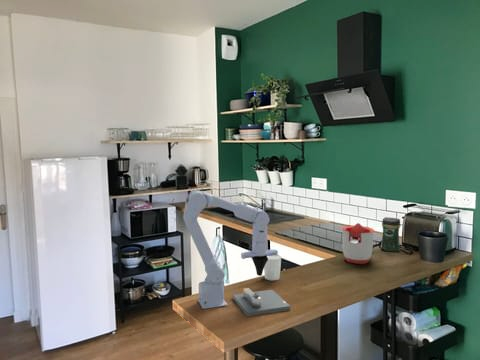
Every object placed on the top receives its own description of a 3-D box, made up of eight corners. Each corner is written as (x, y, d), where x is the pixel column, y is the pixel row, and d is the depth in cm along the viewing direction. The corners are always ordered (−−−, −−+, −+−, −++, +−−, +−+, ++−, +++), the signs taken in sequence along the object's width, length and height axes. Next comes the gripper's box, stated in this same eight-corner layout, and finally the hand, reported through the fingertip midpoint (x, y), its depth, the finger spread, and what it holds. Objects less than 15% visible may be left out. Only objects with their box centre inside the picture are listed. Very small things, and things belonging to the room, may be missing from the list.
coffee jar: (400, 249, 223) (402, 217, 221) (397, 253, 217) (398, 220, 215) (383, 246, 229) (384, 215, 227) (379, 250, 222) (380, 218, 220)
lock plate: (247, 316, 139) (247, 300, 138) (232, 298, 154) (232, 283, 154) (290, 309, 145) (290, 293, 144) (272, 293, 160) (272, 278, 159)
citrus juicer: (337, 263, 198) (338, 225, 196) (345, 254, 213) (346, 218, 211) (369, 268, 190) (370, 228, 188) (375, 259, 206) (376, 221, 204)
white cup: (259, 277, 177) (260, 256, 176) (271, 273, 183) (271, 252, 182) (273, 282, 172) (273, 260, 171) (284, 278, 177) (284, 256, 176)
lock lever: (263, 306, 143) (263, 298, 142) (253, 308, 141) (254, 299, 141) (250, 294, 154) (250, 286, 154) (241, 295, 153) (241, 287, 152)
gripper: (272, 236, 157) (272, 269, 158) (238, 239, 152) (238, 273, 154) (280, 241, 150) (279, 275, 152) (244, 244, 146) (244, 279, 147)
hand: (259, 274), depth 152 cm, fingers closed
